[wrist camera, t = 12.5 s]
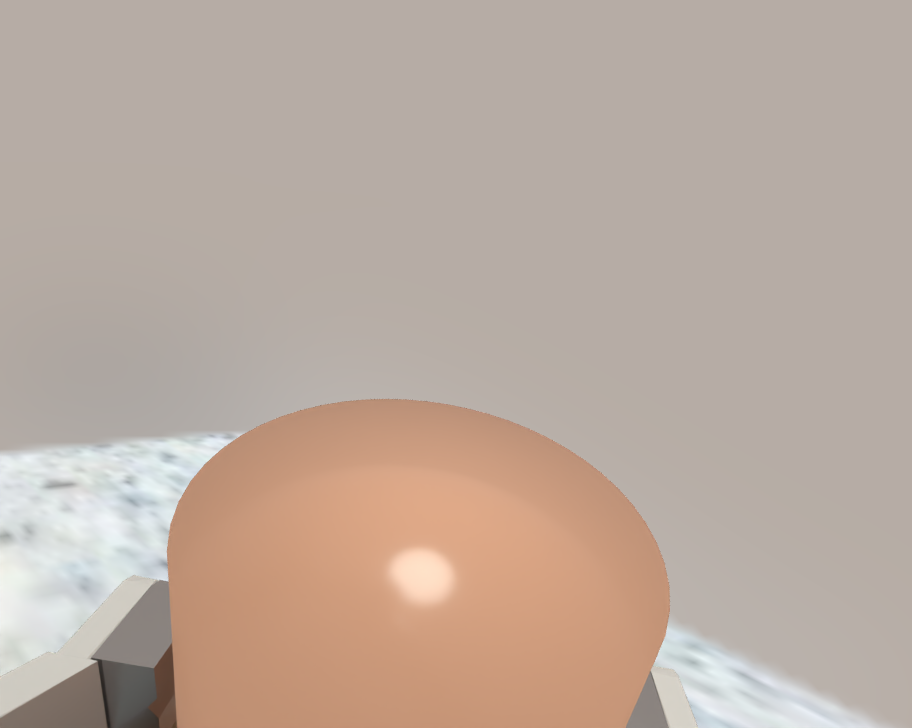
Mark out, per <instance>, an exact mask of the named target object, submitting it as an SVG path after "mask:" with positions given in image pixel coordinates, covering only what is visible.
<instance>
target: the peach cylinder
mask: <svg viewBox="0 0 912 728" xmlns="http://www.w3.org/2000/svg"><path fill="white" fill-rule="evenodd" d="M167 560H168V577H169V595H170V613H171V630H172V648H173V666H174V683H175V701H176V719H177V728H626V725H627V723H628V721H629V718H630V716H631V714H632V712H633V709H634V707H635V705H636V703H637V700H638V698H639V696H640V693H641V691H642V689H643V687H644V684H645V682H646V680H647V677H648V675H649V673H650V671H651V668H652V666H653V664H654V662H655V659H656V657H657V654H658V652H659V650H660V647H661V645H662V642H663V640H664V637H665V634H666V629H667V623H668V618H669V612H670V599H669V597H670V595H669V582H668V578H667V573H666V568H665V563H664V561H663V558H662V555H661V553H660V550H659V548H658V545H657V542H656V540H655V539H654V537H653V535H652V534H651V531H650V530H649V528H648V526H647V524H646V523H645V521H644V520H643V518H642V517H641V515H640V514H639V513H638V512H637V510H636V509H635V507H634V506H633V504H632V503H631V502H630V501H629V500H628V499H627V498H626V497H625V496H624V494H623V493H622V492H621V491H620V490H619V489H618V488H617V487H616V486H615V485H614V484H613V483H612V482H611V481H609V480H608V479H607V478H606V477H605V476H604V475H603V474H602V473H600V472H599V471H598V470H597V469H596V468H594V467H593V466H592V465H590V464H589V463H587V462H586V461H585V460H584V459H582V458H581V457H579V456H577V455H576V454H575V453H573V452H571V451H570V450H568V449H567V448H565V447H563V446H562V445H559V444H558V443H556V442H555V441H553V440H551V439H549V438H547V437H545V436H543V435H541V434H539V433H537V432H535V431H532V430H530V429H528V428H526V427H523V426H521V425H518V424H516V423H513V422H511V421H508V420H505V419H502V418H499V417H496V416H493V415H490V414H486V413H482V412H479V411H475V410H471V409H467V408H462V407H457V406H453V405H448V404H441V403H434V402H427V401H416V400H401V399H399V400H398V399H371V400H356V401H345V402H338V403H332V404H327V405H320V406H316V407H313V408H308V409H304V410H300V411H297V412H294V413H291V414H288V415H284V416H281V417H279V418H276V419H274V420H272V421H269V422H267V423H265V424H262V425H260V426H258V427H256V428H254V429H253V430H251V431H249V432H247V433H245V434H243V435H241V436H240V437H238V438H237V439H235V440H234V441H233V442H231V443H230V444H228V445H227V446H225V447H224V448H222V449H221V450H220V451H219V452H218V453H217V454H216V455H215V456H213V457H212V458H211V459H210V460H209V461H208V462H207V463H206V464H205V465H204V466H203V467H202V468H201V470H200V471H199V472H198V473H197V474H196V476H195V477H194V478H193V479H192V480H191V482H190V483H189V485H188V487H187V489H186V490H185V492H184V494H183V495H182V497H181V499H180V500H179V502H178V505H177V508H176V511H175V514H174V516H173V519H172V522H171V525H170V532H169V539H168V547H167Z"/></svg>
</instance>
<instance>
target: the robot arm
mask: <svg viewBox="0 0 912 728" xmlns="http://www.w3.org/2000/svg"><path fill="white" fill-rule="evenodd" d="M176 720H177V719H176V701H175V683H174V666H173V648H172V630H171V613H170V595H169V582H167V581H162V580H156V579H151V578H145V577H140V576H135V575H133V576H131V577H130V578H128V579H126V580H124V581H123V582H122V583H121V584H120V585H119V586H118V587H117V588H116V589H115V591H114V592H113V593H112V594H111V595H110V596H109V597H108V598H107V599H106V600H105V601H104V602H103V604H102V605H101V606H100V607H99V608H98V609H97V610H96V611H95V612H94V613H93V614H92V615H91V617H90V618H89V619H88V620H87V621H86V622H85V623H84V624H83V625H82V626H81V627H80V628H79V630H78V631H77V632H76V633H75V634H74V635H73V636H72V637H71V638H70V639H69V640H68V641H67V643H66V644H65V645H64V646H63V647H62V648H61V649H60V650H59V651H58V652H57V653H52V652H47V653H45V654H43V655H41V656H39V657H37V658H35V659H33V660H31V661H29V662H27V663H25V664H23V665H22V666H20V667H18V668H16V669H14V670H12V671H10V672H8V673H6V674H4V675H2V676H0V728H172V726H173V725H174V723H175V721H176ZM626 728H698V726H697V723H696V721H695V718H694V715H693V713H692V710H691V708H690V705H689V702H688V700H687V697H686V694H685V692H684V689H683V687H682V684H681V681H680V679H679V676H678V675H677V673H676V672H675V671H674V670H673V669H667V668H661V667H655V666H652V668H651V671H650V673H649V675H648V677H647V680H646V682H645V684H644V687H643V689H642V691H641V693H640V696H639V698H638V700H637V703H636V705H635V707H634V709H633V712H632V714H631V716H630V718H629V721H628V723H627V725H626Z"/></svg>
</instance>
